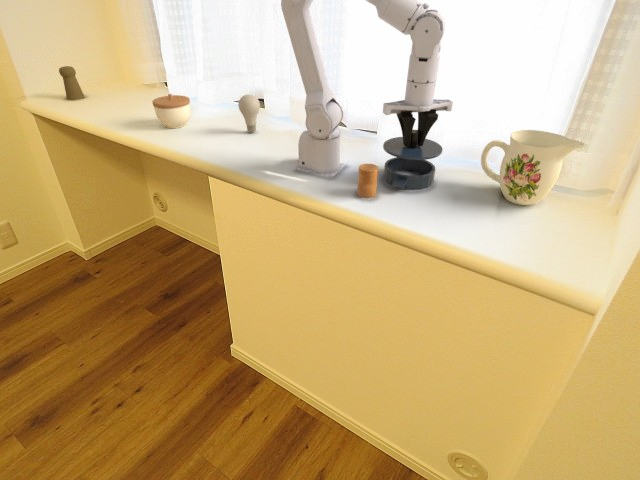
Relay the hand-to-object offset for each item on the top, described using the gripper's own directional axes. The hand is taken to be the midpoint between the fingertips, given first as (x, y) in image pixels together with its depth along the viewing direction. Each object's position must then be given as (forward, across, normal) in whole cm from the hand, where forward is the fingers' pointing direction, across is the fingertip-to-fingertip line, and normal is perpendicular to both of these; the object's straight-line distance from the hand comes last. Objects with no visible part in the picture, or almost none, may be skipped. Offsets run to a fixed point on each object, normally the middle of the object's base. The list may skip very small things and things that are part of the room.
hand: (412, 145), depth 89 cm
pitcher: (+9, +20, -12) cm, 25 cm away
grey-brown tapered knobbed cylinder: (+9, -96, +92) cm, 133 cm away
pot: (+9, 0, 0) cm, 9 cm away
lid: (+1, 0, 0) cm, 1 cm away
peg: (+9, -12, -5) cm, 15 cm away
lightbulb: (+9, -33, +40) cm, 53 cm away
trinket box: (+9, -56, +52) cm, 77 cm away
